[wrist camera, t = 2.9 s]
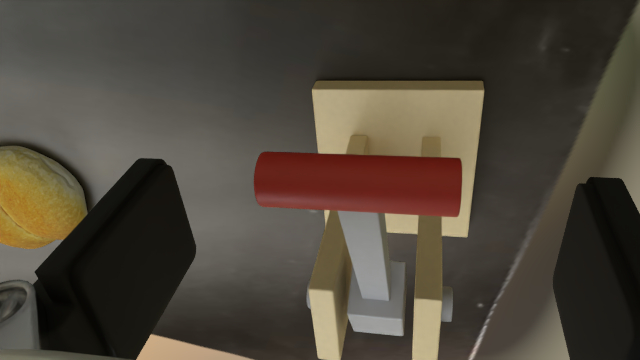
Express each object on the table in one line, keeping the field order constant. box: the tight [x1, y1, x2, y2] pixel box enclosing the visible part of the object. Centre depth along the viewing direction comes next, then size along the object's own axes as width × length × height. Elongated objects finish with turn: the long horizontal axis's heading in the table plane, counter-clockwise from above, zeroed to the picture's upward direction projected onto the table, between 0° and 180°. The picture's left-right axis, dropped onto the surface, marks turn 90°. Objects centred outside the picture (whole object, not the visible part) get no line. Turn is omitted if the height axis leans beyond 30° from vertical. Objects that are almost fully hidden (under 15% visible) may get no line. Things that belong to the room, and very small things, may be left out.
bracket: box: [307, 81, 484, 360], centre depth 25 cm, size 10×9×13 cm
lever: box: [254, 152, 462, 336], centre depth 17 cm, size 12×5×2 cm, turn 5°
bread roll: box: [0, 146, 88, 249], centre depth 36 cm, size 8×9×4 cm
